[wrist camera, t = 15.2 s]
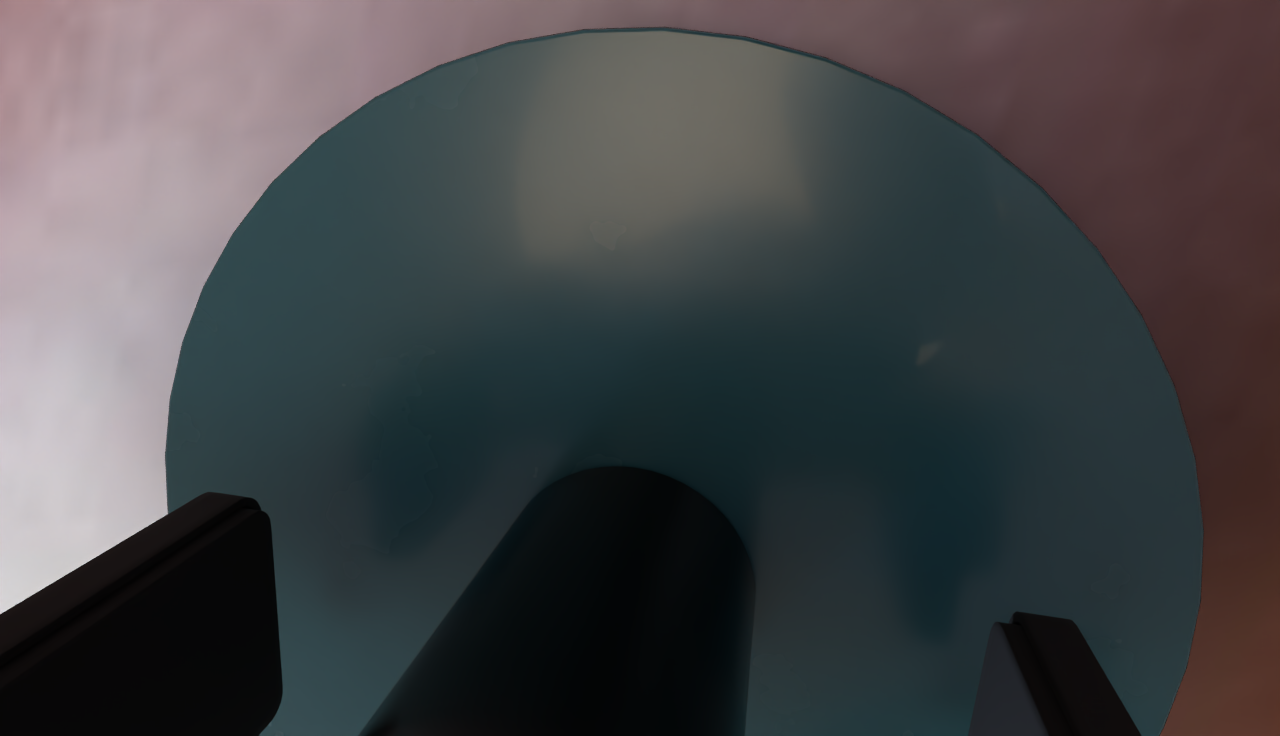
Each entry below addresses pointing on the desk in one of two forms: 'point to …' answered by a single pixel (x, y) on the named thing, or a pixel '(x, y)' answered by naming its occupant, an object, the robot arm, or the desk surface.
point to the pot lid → (680, 407)
